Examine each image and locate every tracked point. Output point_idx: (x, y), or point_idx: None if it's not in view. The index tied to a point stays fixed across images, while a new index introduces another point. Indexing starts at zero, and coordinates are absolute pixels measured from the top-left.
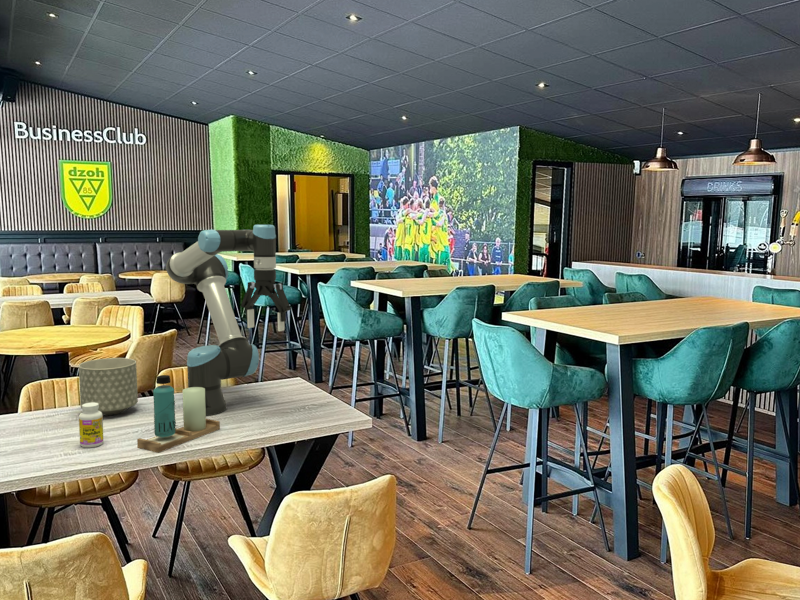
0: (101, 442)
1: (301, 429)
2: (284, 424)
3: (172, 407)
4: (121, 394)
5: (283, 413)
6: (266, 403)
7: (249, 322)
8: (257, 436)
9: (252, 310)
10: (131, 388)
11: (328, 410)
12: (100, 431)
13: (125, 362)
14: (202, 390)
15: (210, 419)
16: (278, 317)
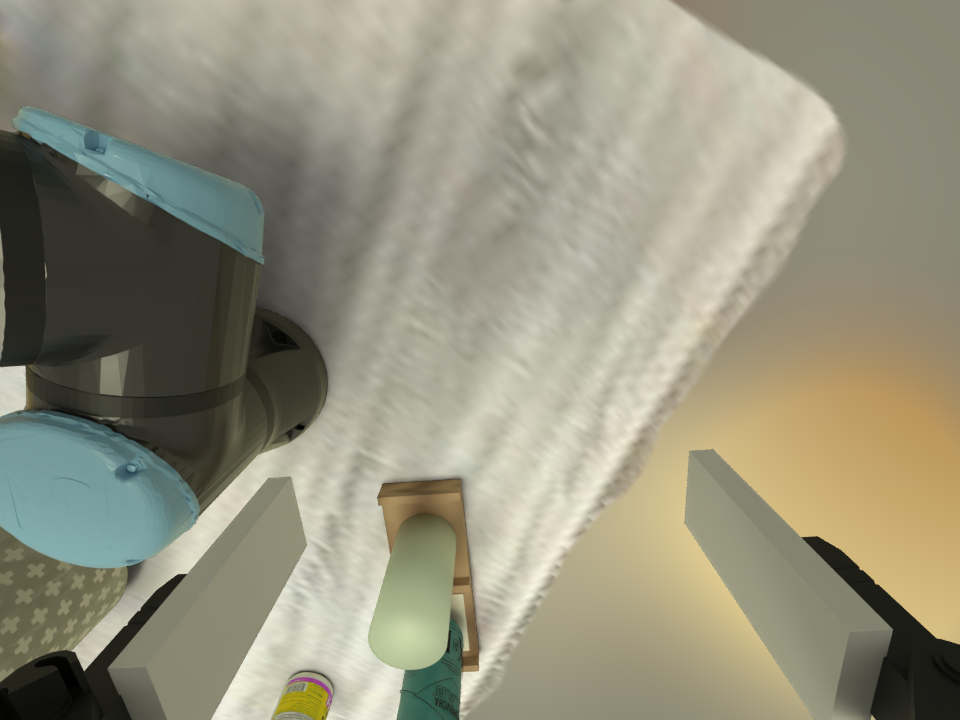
0: (329, 686)
1: (677, 351)
2: (596, 343)
3: (457, 706)
4: (88, 606)
5: (508, 248)
6: (355, 181)
7: (279, 584)
8: (600, 466)
9: (171, 676)
10: (63, 582)
11: (636, 106)
12: (321, 717)
13: None
14: (442, 632)
15: (421, 495)
16: (788, 656)
